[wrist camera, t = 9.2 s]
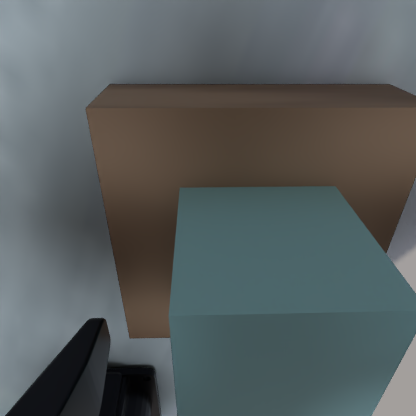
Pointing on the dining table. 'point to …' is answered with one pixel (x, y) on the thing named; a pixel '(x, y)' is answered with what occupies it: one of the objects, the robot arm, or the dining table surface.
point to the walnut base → (239, 163)
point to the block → (282, 305)
